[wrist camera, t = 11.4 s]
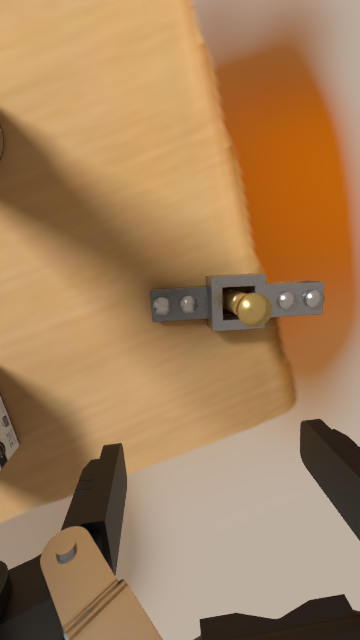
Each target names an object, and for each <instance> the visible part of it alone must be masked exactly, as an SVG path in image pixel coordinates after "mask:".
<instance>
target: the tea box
mask: <svg viewBox="0 0 360 640" xmlns="http://www.w3.org/2000/svg"><path fill="white" fill-rule="evenodd" d="M18 447H19V443H18V441H17V438H16V435H15V432H14V429H13V427H12V425H11V422H10V419H9V416H8V414H7V411H6V409H5V407H4V404H3V402H2V398H1V395H0V470H1V469H2V468H3V466H4V465H5V464H6V463H7V461H8V460H9V459H10V457H11V456H12V455H13V453H14V452H15V451H16V449H17V448H18Z"/></svg>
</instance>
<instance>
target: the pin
mask: <svg viewBox="0 0 360 640" xmlns="http://www.w3.org/2000/svg"><path fill="white" fill-rule="evenodd" d="M222 300H223V307H224V308H226V309H227V310H229V311H231V312H232V313H234V314H236V315H237V317H238V318H239V320H240V321H241V322H242V323H244V324H245V325H247V326H249V327H260V326H262V325H264V324H265V323H267V322H268V320H269V319H270V317H271V315H272V304H271V302H270V300H269V299H268V298H267V297H266V296H265V295H262V294H259V293H248V294H246V293H242V292H239V291H236V290H228V291H226V292H225V293H224V294H223V296H222Z"/></svg>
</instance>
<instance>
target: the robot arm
mask: <svg viewBox="0 0 360 640" xmlns="http://www.w3.org/2000/svg"><path fill="white" fill-rule="evenodd" d="M2 150H3V136H2V131H1V128H0V157H1V154H2ZM300 454H301V458H302V461H303V463H304V465H305V466H306V468H307V470H308V471H309V472H310V473H311V475H312V476H313V478H314V479H315V480H316V482H317V483H318V485H319V486H320V487H321V489H322V490H323V491H324V493H325V494H326V495H327V497H328V498H329V499H330V501H331V502H332V503H333V505H334V506H335V508H336V509H337V510H338V512H339V513H340V514H341V516H342V517H343V519H344V520H345V521H346V522H347V524H348V525H349V527H350V528H351V529H352V531H353V532H354V533H355V535H356V536H357V538H358V539H359V540H360V447H359V446H357V444H356V443H355V442H354V441H352V440H351V439H350V438H349V437H348V436H346V435H345V434H343V433H341V432H339V431H337V430H335V429H331V428H329V427H328V426H327V425H326V424H325V423H324V422H323V421H322V420H321V419H314V420H306V421H302V422H301V428H300ZM126 491H127V474H126V467H125V460H124V452H123V446H122V443H118V444H110V445H104V446H103V449H102V452H101V456H100V459H95V460H91V461H90V462H89V463H88V464H87V465H86V467H85V468H84V469H83V470H82V473H81V476H80V479H79V483H78V484H77V487H76V490H75V493H74V495H73V498H72V501H71V504H70V507H69V510H68V512H67V515H66V518H65V521H64V524H63V526H62V529H61V531H60V532H59V533H57V534H56V535H55V536H54V537H53V538H52V539H51V540H50V541H49V542H48V543H47V545H46V546H45V548H44V550H43V552H42V554H40V555H39V556H37V557H35V558H33V559H32V560H29V561H27V562H25V563H23V564H21V565H19V566H16V567H14V568H12V569H10V570H8V568H7V565H6V564H5V563H4V562H2V561H0V640H163V639H162V637H161V636H160V634H159V633H158V631H157V629H156V628H155V626H154V625H153V623H152V622H151V620H150V618H149V617H148V615H147V614H146V612H145V610H144V609H143V607H142V606H141V604H140V602H139V601H138V599H137V598H136V596H135V595H134V593H133V591H132V590H131V588H130V587H129V585H128V584H127V583H126V581H125V580H123V579H122V580H121V581H120V582H119V581H118V580H117V578H116V577H115V575H116V567H117V559H118V552H119V544H120V537H121V528H122V521H123V513H124V506H125V499H126ZM200 629H201V635H200V636H199V637H197V638H195V639H194V640H360V611H356V610H353V609H352V608H351V606H350V604H349V602H348V601H347V599H346V597H345V595H344V594H342V595H337V596H331V597H325V598H319V599H314V600H309V601H307V602H306V603H304V604H303V605H301V606H299V607H298V608H296V609H294V610H293V611H291V612H290V613H288V614H286V615H285V616H283V617H281V618H279V619H270V618H263V617H257V616H251V615H245V614H239V613H234V614H228V615H222V616H216V617H210V618H205V619H200Z"/></svg>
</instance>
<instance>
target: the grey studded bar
mask: <svg viewBox="0 0 360 640" xmlns="http://www.w3.org/2000/svg"><path fill="white" fill-rule="evenodd" d="M240 286H246V294H248V293H259V294H262V295H265V296H266V297H267V298H268V299H269V300H270V302H271V304H272V315H271V317H285V316H301V315H315V314H316V315H317V314H322V309H323V308H322V307H323V302H324V294H323V289H324V282H320V281H308V280H307V281H289V282H271V283H266V274H240V275H221V276H206V286H199V287H181V288H163V289H151V290H150V292H151V306H152V320H153V322H162V321H178V320H193V319H207V325H208V326H209V328H210V329H211V330H212V331H227V330H242V329H257V328H265V324H264V325H262V326H260V327H249V326H247V325H245V324H244V323H242V322H241V321H240V320H239V318H238V317H237V315H236V314H231V315H223V300H222V287H240Z"/></svg>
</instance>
